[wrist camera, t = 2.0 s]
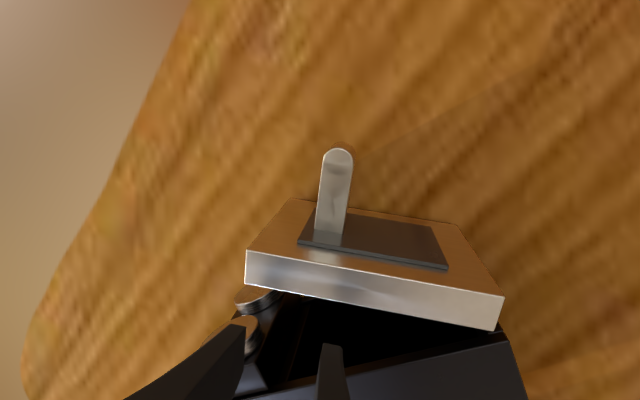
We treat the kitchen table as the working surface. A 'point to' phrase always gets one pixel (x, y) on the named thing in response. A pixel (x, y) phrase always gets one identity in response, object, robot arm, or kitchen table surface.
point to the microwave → (366, 352)
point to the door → (372, 256)
